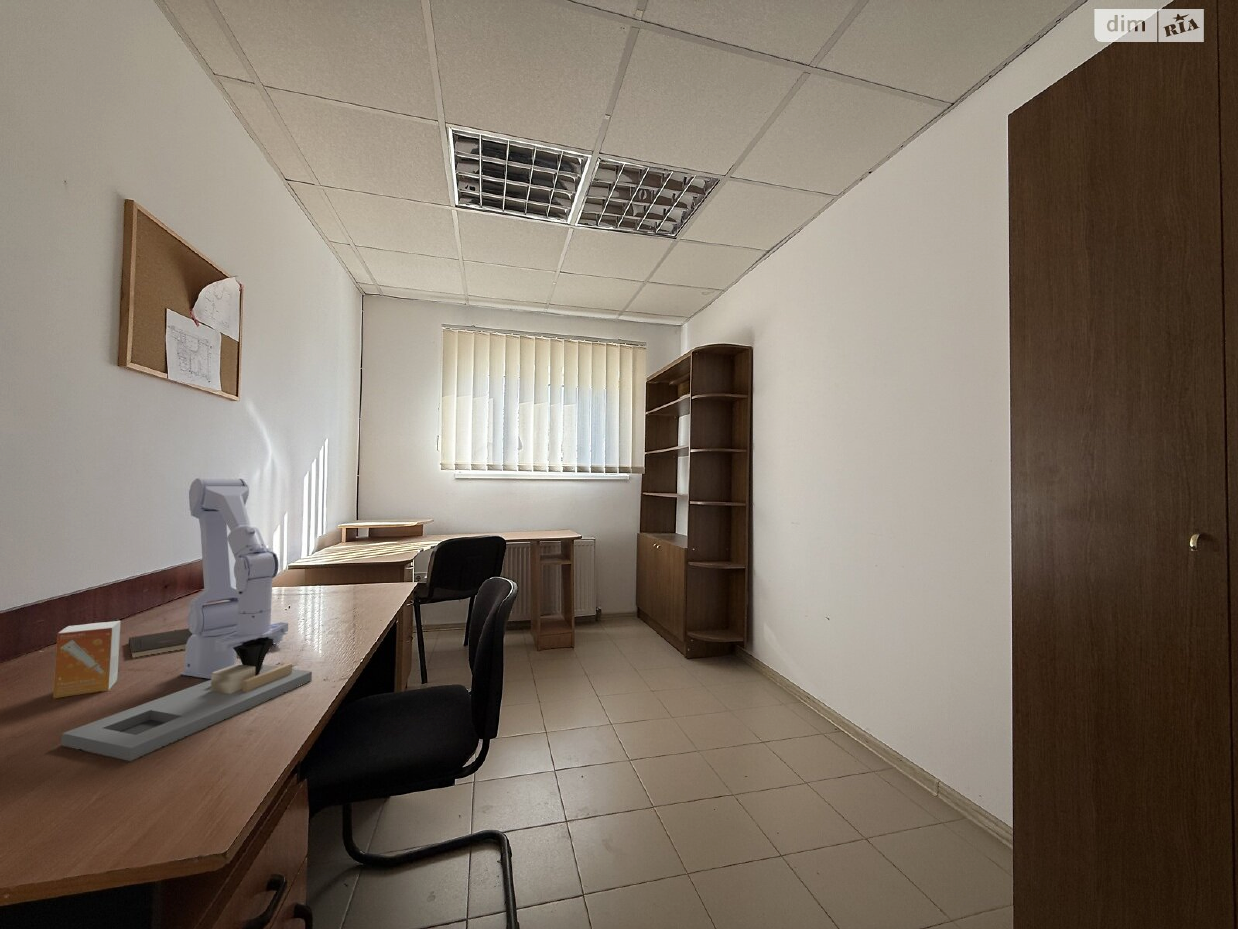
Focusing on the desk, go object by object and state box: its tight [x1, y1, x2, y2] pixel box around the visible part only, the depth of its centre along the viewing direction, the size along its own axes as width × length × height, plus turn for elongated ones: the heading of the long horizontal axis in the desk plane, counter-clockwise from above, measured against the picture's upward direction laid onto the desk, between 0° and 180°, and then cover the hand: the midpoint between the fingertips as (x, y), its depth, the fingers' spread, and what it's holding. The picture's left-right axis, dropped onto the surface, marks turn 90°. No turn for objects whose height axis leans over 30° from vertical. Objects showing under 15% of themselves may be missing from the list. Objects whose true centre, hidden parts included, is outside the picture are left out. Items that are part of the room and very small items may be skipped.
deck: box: [61, 662, 313, 762], centre depth 96 cm, size 16×33×4 cm, turn 165°
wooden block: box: [210, 663, 255, 694], centre depth 101 cm, size 5×5×4 cm
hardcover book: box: [128, 627, 193, 658], centre depth 135 cm, size 16×23×2 cm
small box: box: [52, 620, 121, 699], centre depth 104 cm, size 8×6×13 cm
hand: (252, 675), depth 105 cm, fingers closed
